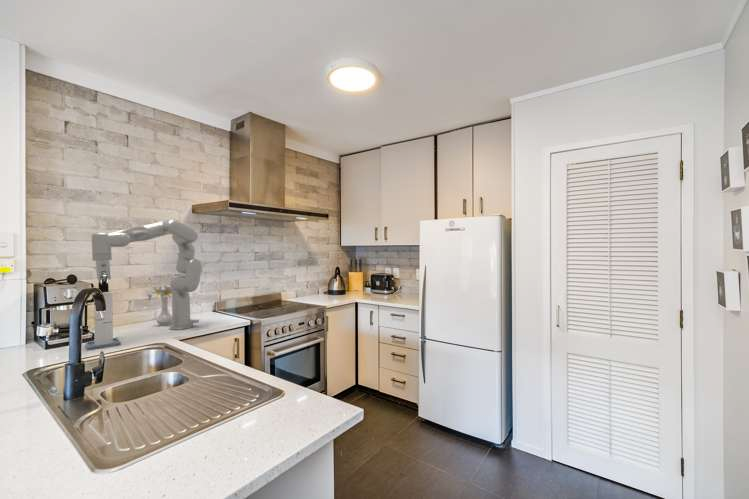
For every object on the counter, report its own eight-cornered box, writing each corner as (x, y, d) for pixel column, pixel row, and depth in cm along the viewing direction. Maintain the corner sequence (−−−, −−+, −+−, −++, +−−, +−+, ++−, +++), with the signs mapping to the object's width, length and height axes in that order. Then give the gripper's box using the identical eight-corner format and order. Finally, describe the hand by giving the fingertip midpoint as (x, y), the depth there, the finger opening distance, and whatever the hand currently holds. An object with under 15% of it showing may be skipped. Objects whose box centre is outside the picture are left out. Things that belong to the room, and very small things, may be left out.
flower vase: (144, 326, 213) (143, 286, 213) (176, 321, 227) (176, 283, 227) (150, 329, 205) (149, 287, 205) (183, 323, 218) (182, 285, 218)
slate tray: (117, 340, 179) (117, 337, 179) (120, 345, 170) (120, 342, 170) (85, 345, 171) (85, 342, 171) (86, 350, 161) (86, 347, 161)
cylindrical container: (97, 343, 172) (96, 293, 172) (114, 341, 175) (114, 292, 175) (92, 346, 166) (92, 295, 166) (110, 344, 169) (110, 294, 169)
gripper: (113, 257, 167) (114, 292, 167) (109, 256, 179) (111, 289, 180) (93, 258, 161) (95, 293, 162) (91, 257, 174) (92, 290, 175)
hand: (103, 291), depth 171 cm, fingers open, 9 cm apart
